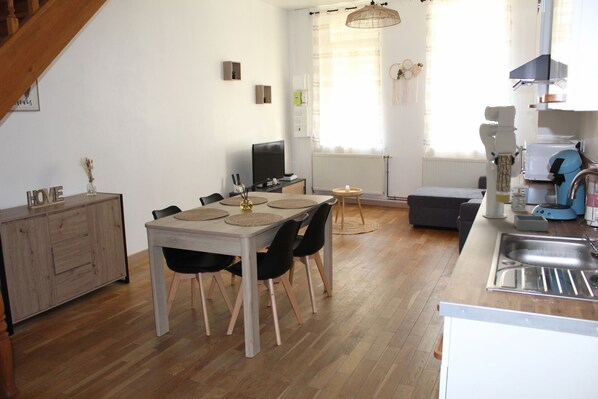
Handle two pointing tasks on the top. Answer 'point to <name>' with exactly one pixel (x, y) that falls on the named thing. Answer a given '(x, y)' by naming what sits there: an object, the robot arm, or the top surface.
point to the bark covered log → (503, 177)
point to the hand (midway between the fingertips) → (504, 164)
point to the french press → (516, 197)
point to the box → (530, 222)
